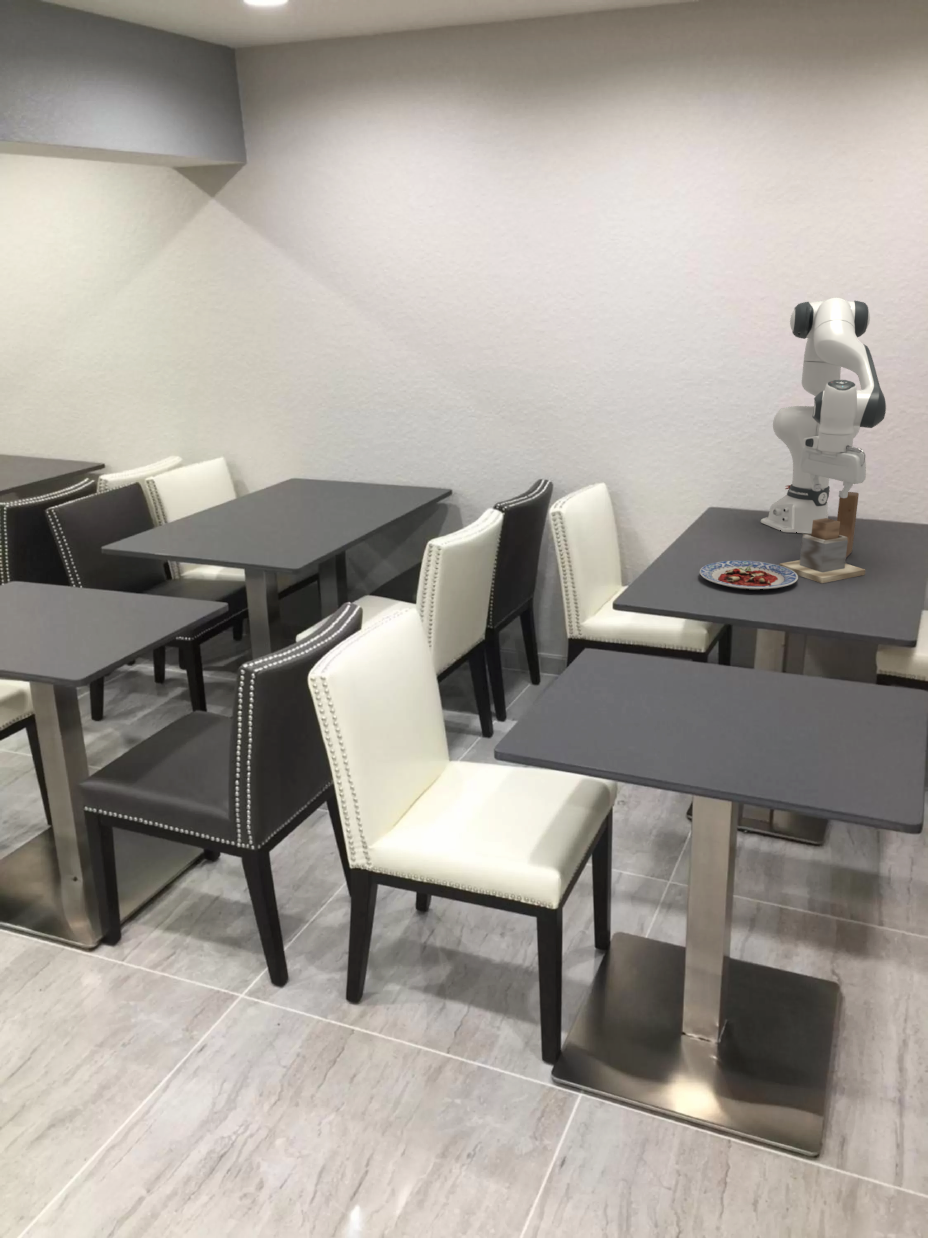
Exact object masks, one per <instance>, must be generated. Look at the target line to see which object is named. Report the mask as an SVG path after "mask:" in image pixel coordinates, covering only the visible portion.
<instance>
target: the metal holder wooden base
mask: <svg viewBox="0 0 928 1238" xmlns="http://www.w3.org/2000/svg"><path fill="white" fill-rule="evenodd" d="M811 534H812V533H802V537H801V545H800V546H801V547H800V556H799V560H793V561H786V562H782V563H779V564H778V565H779V566H782V567H786V568H788V569H790V570H792V571H794V572H795V573H796V574H797V575H798V577H802V578H804V579H807V580H811V581H814V582H816V583H819V584H825V583H831V582H832V583H833V582H835V581H841V580H847V579H851V578H856V577H860V576H865V575H866V569H865V568H861V567H859V566H855V565H851V564H848V563H846V560H847V558H846V552H847V543H848V540H847V538H848V537H845V536H841V535H839V537H838V538H836V539H830V540H823V539H819V538H816V537H812V536H811Z"/></svg>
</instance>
